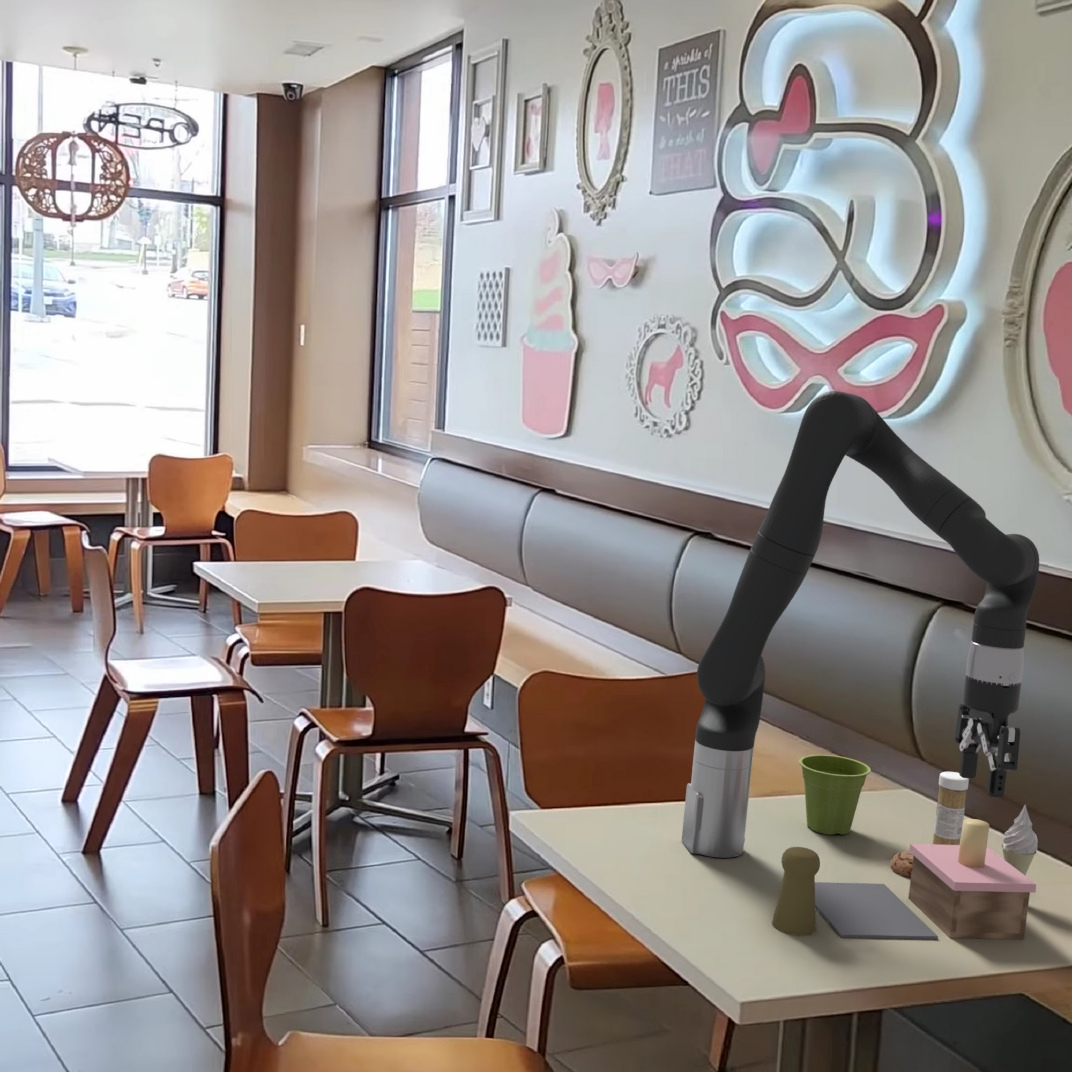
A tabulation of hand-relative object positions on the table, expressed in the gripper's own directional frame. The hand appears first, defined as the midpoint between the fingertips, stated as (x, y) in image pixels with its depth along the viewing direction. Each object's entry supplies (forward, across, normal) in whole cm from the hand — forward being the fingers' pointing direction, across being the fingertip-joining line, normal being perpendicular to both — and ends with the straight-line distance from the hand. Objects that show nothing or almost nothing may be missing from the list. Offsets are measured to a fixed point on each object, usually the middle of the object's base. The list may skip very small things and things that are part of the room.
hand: (980, 786), depth 197 cm
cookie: (+20, -18, +2) cm, 27 cm away
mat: (+19, -2, -15) cm, 24 cm away
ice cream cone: (+20, -7, +11) cm, 24 cm away
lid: (+14, 0, 0) cm, 14 cm away
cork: (+20, +4, -27) cm, 34 cm away
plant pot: (+20, -37, -7) cm, 42 cm away
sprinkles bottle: (+20, -26, +9) cm, 34 cm away
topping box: (+20, 0, 0) cm, 20 cm away
